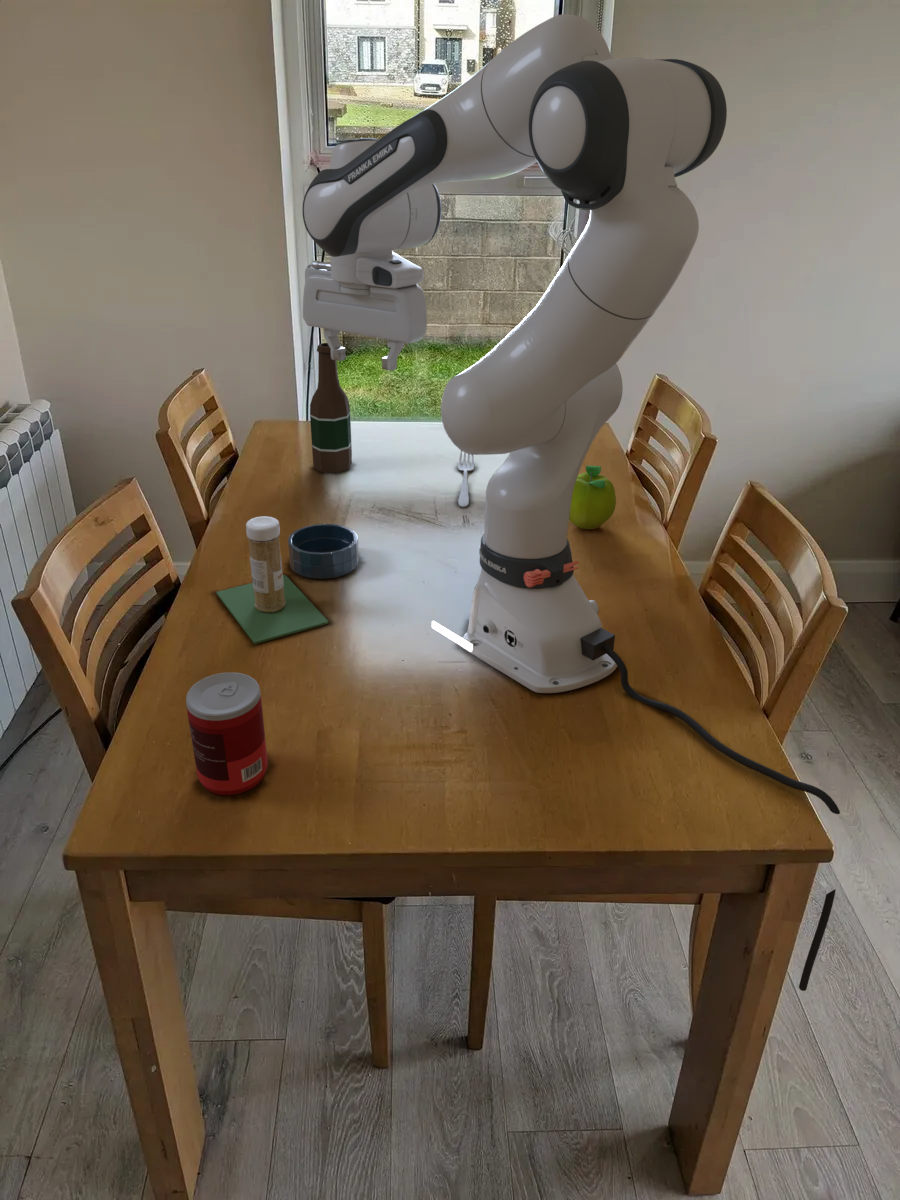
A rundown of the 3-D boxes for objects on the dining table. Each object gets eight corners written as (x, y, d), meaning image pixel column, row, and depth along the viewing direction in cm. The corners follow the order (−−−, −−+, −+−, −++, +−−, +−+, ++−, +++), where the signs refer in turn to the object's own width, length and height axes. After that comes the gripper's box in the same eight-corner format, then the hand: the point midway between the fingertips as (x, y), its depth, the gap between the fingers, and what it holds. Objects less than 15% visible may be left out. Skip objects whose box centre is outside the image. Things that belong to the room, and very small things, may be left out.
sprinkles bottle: (291, 608, 134) (284, 524, 127) (261, 617, 131) (253, 531, 125) (278, 595, 137) (270, 512, 130) (249, 603, 135) (240, 519, 128)
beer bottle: (309, 461, 184) (302, 340, 172) (348, 457, 186) (343, 338, 175) (316, 475, 178) (309, 351, 166) (356, 471, 180) (351, 348, 168)
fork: (454, 507, 166) (454, 497, 165) (458, 458, 187) (459, 449, 186) (472, 507, 166) (472, 498, 165) (474, 458, 187) (474, 450, 186)
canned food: (272, 750, 106) (264, 671, 101) (263, 797, 100) (253, 715, 94) (205, 750, 106) (194, 671, 101) (191, 798, 99) (178, 716, 94)
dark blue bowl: (370, 570, 145) (369, 544, 143) (306, 586, 140) (304, 560, 138) (340, 543, 153) (339, 518, 151) (279, 557, 148) (277, 532, 146)
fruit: (611, 515, 164) (617, 462, 159) (614, 538, 156) (620, 483, 151) (559, 512, 165) (563, 460, 160) (559, 535, 157) (564, 480, 152)
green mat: (328, 623, 131) (328, 621, 131) (254, 644, 126) (254, 642, 126) (285, 576, 143) (285, 574, 142) (216, 594, 138) (216, 591, 137)
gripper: (290, 261, 133) (295, 358, 139) (407, 276, 123) (407, 379, 130) (318, 256, 137) (322, 350, 144) (433, 271, 128) (431, 371, 135)
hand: (363, 364), depth 137 cm, fingers open, 8 cm apart
